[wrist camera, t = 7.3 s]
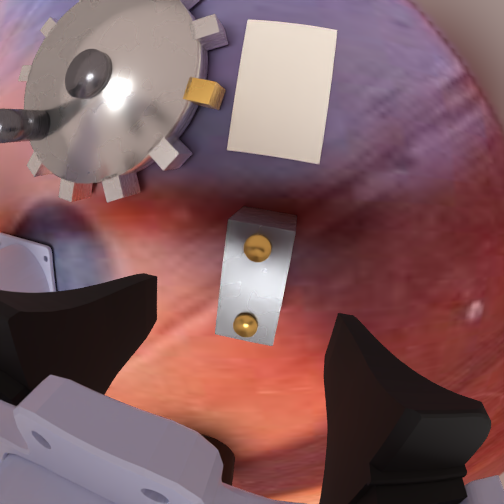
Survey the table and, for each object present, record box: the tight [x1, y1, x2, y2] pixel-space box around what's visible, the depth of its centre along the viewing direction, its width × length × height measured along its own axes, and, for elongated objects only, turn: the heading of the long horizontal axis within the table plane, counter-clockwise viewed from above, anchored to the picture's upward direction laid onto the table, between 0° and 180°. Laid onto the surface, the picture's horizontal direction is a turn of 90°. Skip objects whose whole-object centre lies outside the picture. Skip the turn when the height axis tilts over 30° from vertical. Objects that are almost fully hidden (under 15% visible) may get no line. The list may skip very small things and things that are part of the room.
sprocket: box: [0, 0, 228, 202], centre depth 13 cm, size 15×15×6 cm
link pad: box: [227, 20, 337, 164], centre depth 15 cm, size 8×5×1 cm, turn 172°
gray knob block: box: [215, 206, 297, 346], centre depth 16 cm, size 6×3×4 cm, turn 172°
